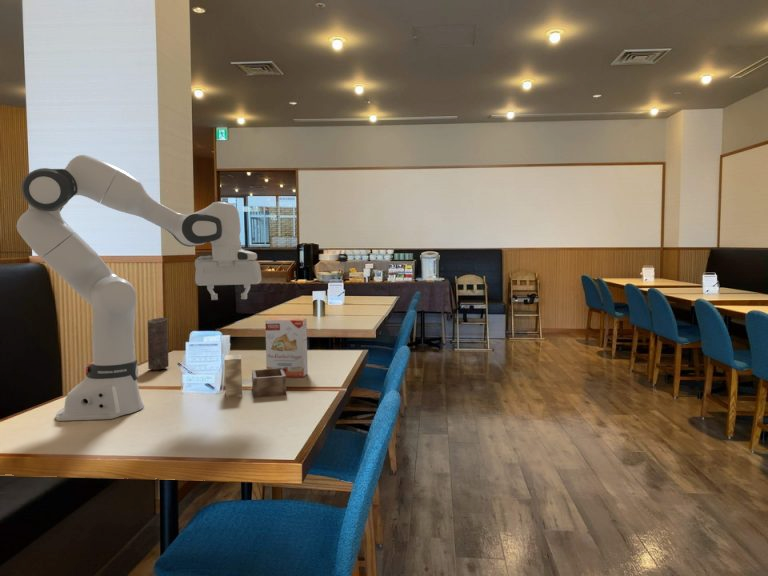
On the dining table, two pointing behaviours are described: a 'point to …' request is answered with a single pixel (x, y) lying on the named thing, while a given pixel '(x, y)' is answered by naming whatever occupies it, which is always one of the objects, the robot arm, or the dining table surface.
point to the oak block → (233, 376)
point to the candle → (157, 344)
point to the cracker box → (287, 345)
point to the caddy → (268, 382)
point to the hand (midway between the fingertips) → (229, 299)
